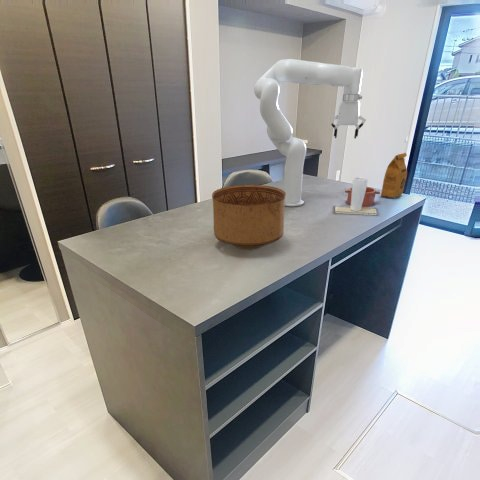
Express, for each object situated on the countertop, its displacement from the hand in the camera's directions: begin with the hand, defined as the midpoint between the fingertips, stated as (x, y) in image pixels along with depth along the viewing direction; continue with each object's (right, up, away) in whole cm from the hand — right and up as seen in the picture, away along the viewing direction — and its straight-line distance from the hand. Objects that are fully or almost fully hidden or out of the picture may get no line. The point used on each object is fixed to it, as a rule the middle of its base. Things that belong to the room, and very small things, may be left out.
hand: (345, 138), depth 180 cm
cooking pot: (+11, -30, +9) cm, 33 cm away
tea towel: (+4, -38, -2) cm, 38 cm away
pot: (-50, -62, -37) cm, 88 cm away
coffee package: (+32, -23, +19) cm, 44 cm away
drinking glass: (+4, -38, -2) cm, 38 cm away
